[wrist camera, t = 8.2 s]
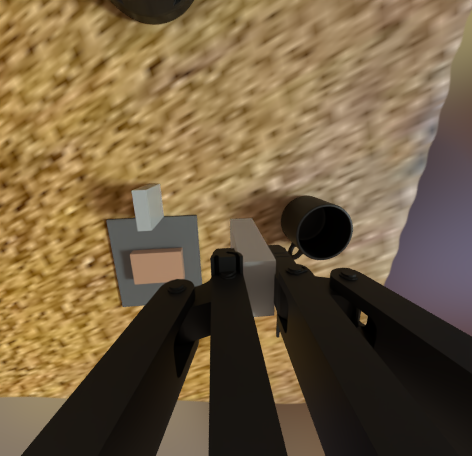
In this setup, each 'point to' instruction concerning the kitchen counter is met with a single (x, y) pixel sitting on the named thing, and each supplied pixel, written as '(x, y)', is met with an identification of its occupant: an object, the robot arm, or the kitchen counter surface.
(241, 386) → the robot arm
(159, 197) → the grey tile
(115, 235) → the mat
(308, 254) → the mug
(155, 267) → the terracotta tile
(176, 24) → the kitchen counter surface
